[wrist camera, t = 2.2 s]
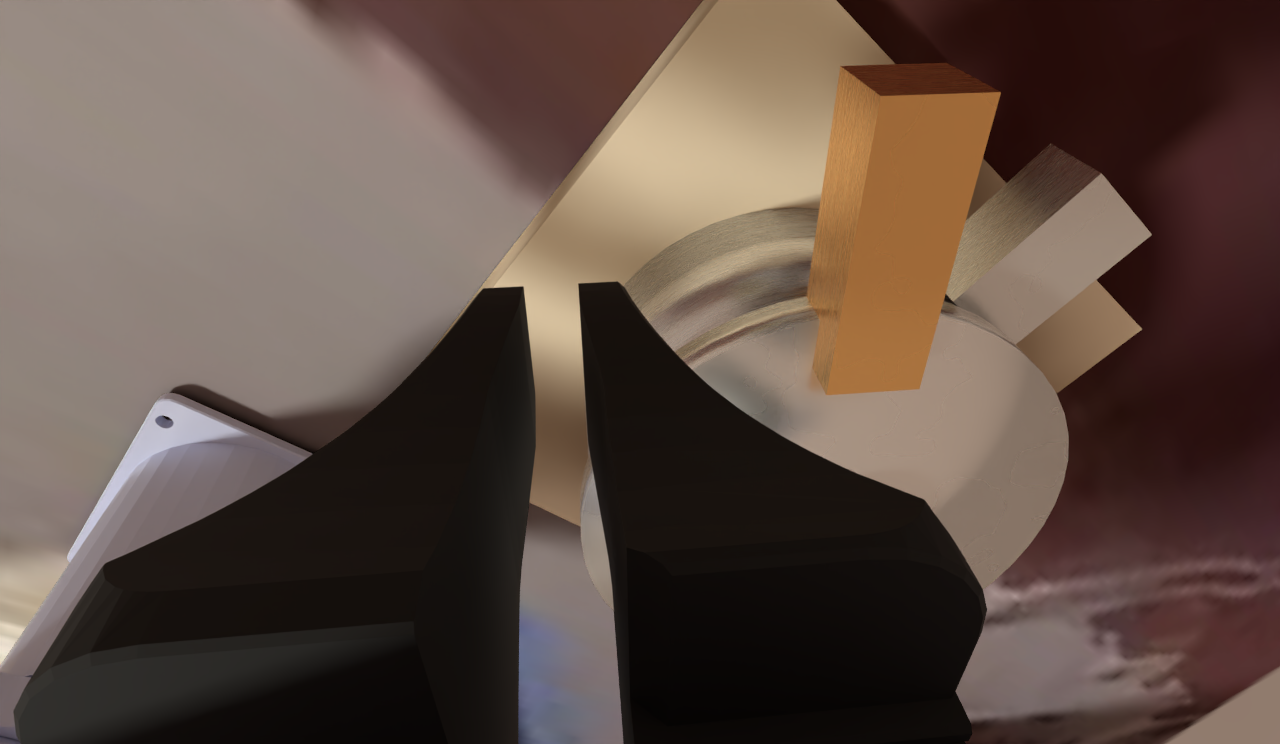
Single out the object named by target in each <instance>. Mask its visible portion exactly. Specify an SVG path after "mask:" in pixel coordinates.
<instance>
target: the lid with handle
mask: <svg viewBox="0 0 1280 744" xmlns="http://www.w3.org/2000/svg"><path fill="white" fill-rule="evenodd" d="M1000 94H1001V92H1000V91H998V90H996V89H994V88H992V87H991V86H989V85H987V84H985V83H983V82H981V81H979V80H978V79H976V78H974V77H972V76H970V75H968V74H966V73H965V72H963V71H961V70H959V69H957V68H955V67H953V66H952V65H950V64H948V63H923V64H889V65H855V66H840V72H839V79H838V86H837V93H836V99H835V106H834V113H833V120H832V127H831V133H830V140H829V147H828V154H827V161H826V167H825V174H824V181H823V188H822V194H821V201H820V208H819V215H818V222H817V228H816V235H815V242H814V249H813V255H812V262H811V269H810V276H809V283H808V289H807V296H806V297H802V298H797V299H793V300H788V301H784V302H780V303H776V304H773V305H770V306H767V307H764V308H761V309H758V310H756V311H753V312H750V313H747V314H744V315H741V316H739V317H737V318H735V319H733V320H731V321H728V322H726V323H724V324H722V325H720V326H718V327H716V328H713V329H711V330H709V331H707V332H706V333H704V334H702V335H701V336H699V337H697V338H696V339H694V340H692V341H691V342H689V343H688V344H686V345H684V346H683V347H681V348H679V349H678V350H676V351H675V353H676V354H677V355H678V356H679V357H680V358H681V359H682V360H683V361H684V362H685V363H686V364H687V365H688V366H689V367H690V368H691V369H692V370H693V371H694V372H695V373H696V374H697V375H698V376H699V377H700V378H702V379H703V380H704V381H705V382H706V383H707V384H708V385H709V386H711V387H712V388H713V389H714V390H715V391H717V392H718V393H719V394H721V395H722V396H723V397H724V398H726V399H727V400H728V401H730V402H731V403H732V404H734V405H735V406H736V407H738V408H739V409H740V410H742V411H743V412H745V413H746V414H748V415H749V416H751V417H752V418H754V419H755V420H757V421H759V422H760V423H762V424H763V425H765V426H767V427H768V428H770V429H772V430H773V431H775V432H777V433H778V434H780V435H781V436H783V437H785V438H786V439H788V440H790V441H792V442H794V443H796V444H798V445H799V446H801V447H803V448H805V449H807V450H809V451H811V452H813V453H815V454H817V455H819V456H821V457H823V458H825V459H827V460H829V461H831V462H833V463H835V464H837V465H840V466H842V467H844V468H846V469H848V470H850V471H853V472H855V473H857V474H860V475H863V476H865V477H868V478H870V479H873V480H875V481H878V482H881V483H883V484H886V485H888V486H891V487H894V488H896V489H899V490H901V491H904V492H906V493H909V494H912V495H914V496H917V497H919V498H922V499H924V500H925V501H926V502H927V503H928V505H929V506H930V508H931V509H932V511H933V512H934V514H935V515H936V516H937V518H938V519H939V520H940V522H941V523H942V524H943V526H944V527H945V528H946V530H947V531H948V532H949V534H950V535H951V537H952V538H953V540H954V541H955V543H956V544H957V546H958V548H959V549H960V551H961V552H962V554H963V556H964V557H965V559H966V561H967V563H968V564H969V566H970V568H971V570H972V571H973V573H974V575H975V576H976V578H977V580H978V582H979V583H980V585H981V587H982V589H985V588H986V587H987V586H988V585H990V584H991V583H992V582H993V581H995V580H996V579H997V578H998V577H999V576H1000V575H1001V574H1002V573H1003V572H1004V571H1006V570H1007V569H1008V568H1009V567H1010V566H1011V565H1012V564H1013V563H1014V562H1015V561H1016V559H1017V558H1018V557H1019V556H1020V555H1021V554H1022V553H1023V552H1024V551H1025V549H1026V548H1027V547H1028V546H1029V545H1030V543H1031V542H1032V541H1033V539H1034V538H1035V537H1036V535H1037V534H1038V532H1039V531H1040V530H1041V528H1042V527H1043V525H1044V524H1045V522H1046V520H1047V518H1048V516H1049V514H1050V513H1051V511H1052V509H1053V507H1054V505H1055V503H1056V501H1057V498H1058V495H1059V493H1060V490H1061V487H1062V485H1063V482H1064V477H1065V473H1066V468H1067V463H1068V447H1069V435H1068V429H1067V424H1066V418H1065V413H1064V411H1063V409H1062V406H1061V404H1060V401H1059V399H1058V396H1057V394H1056V392H1055V390H1054V389H1053V387H1052V386H1051V385H1050V383H1049V382H1048V380H1047V379H1046V377H1045V376H1044V374H1043V373H1042V372H1041V371H1040V370H1039V368H1038V367H1037V366H1036V365H1035V364H1034V363H1033V362H1032V361H1031V360H1030V359H1029V358H1028V357H1027V356H1026V355H1025V354H1024V353H1023V351H1022V350H1021V349H1020V348H1019V347H1018V346H1017V345H1016V344H1015V343H1014V342H1013V341H1011V340H1010V339H1009V338H1008V337H1007V336H1006V335H1005V334H1004V333H1003V332H1002V331H1001V330H1000V329H998V328H997V327H995V326H994V325H992V324H991V323H989V322H988V321H986V320H985V319H983V318H982V317H980V316H978V315H976V314H974V313H972V312H970V311H967V310H965V309H963V308H961V307H958V306H956V305H954V304H952V303H948V302H944V298H945V294H946V291H947V287H948V283H949V280H950V276H951V272H952V269H953V265H954V262H955V258H956V254H957V251H958V247H959V243H960V240H961V236H962V232H963V229H964V225H965V222H966V218H967V214H968V211H969V207H970V203H971V200H972V196H973V192H974V189H975V185H976V181H977V178H978V174H979V171H980V167H981V163H982V160H983V156H984V152H985V149H986V145H987V141H988V138H989V134H990V131H991V127H992V123H993V120H994V116H995V112H996V109H997V105H998V101H999V98H1000ZM580 526H581V543H582V549H583V555H584V560H585V564H586V567H587V569H588V572H589V575H590V577H591V580H592V582H593V584H594V586H595V587H596V589H597V590H598V592H599V594H600V595H601V597H602V598H603V600H604V601H605V602H606V603H607V604H608V606H609V607H610V608H611V609H612V610H613V611H614V606H613V593H612V582H611V574H610V567H609V559H608V553H607V547H606V542H605V536H604V531H603V525H602V519H601V514H600V508H599V502H598V497H597V491H596V486H595V480H594V474H593V469H592V463H591V457H590V455H589V457H588V460H587V463H586V465H585V469H584V474H583V479H582V484H581V489H580Z"/></svg>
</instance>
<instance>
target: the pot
mask: <svg viewBox="0 0 1280 744" xmlns="http://www.w3.org/2000/svg"><path fill="white" fill-rule="evenodd" d="M818 215H819V209H813V208H797V207H795V208H780V209H767V210H762V211H757V212H751V213H746V214H741V215H738V216H735V217H731V218H728V219H725V220H722V221H719V222H716V223H713V224H711V225H709V226H706V227H704V228H702V229H700V230H697V231H695V232H693V233H691V234H689V235H687V236H685V237H684V238H682V239H680V240H679V241H677V242H675V243H674V244H672V245H670V246H669V247H667V248H665V249H664V250H663V251H661V252H660V253H659V254H657V255H656V256H655V257H654V258H652V259H651V260H650V261H648V262H647V263H646V264H645V265H643V266H642V267H641V268H640V269H639V270H638V271H637V272H636V273H635V274H634V275H633V276H632V277H631V278H630V279H629V280H628V281H627V282H626V283H625V285H624V287H625V289H626V290H627V292H628V294H629V295H630V297H631V298H632V300H633V301H634V303H635V304H636V306H637V307H638V309H639V310H640V311H641V313H642V314H643V315H644V317H645V318H646V319H647V320H648V322H649V323H650V324H651V325H652V327H653V328H654V329H655V330H656V332H657V333H658V334H659V335H660V336H661V337H662V338H663V339H664V341H665V342H666V343H667V344H668V345H669V346H670V347H671V349H672V350H673V351H674V352H675V351H676V350H678V349H679V348H681V347H683V346H684V345H686V344H688V343H689V342H691V341H692V340H694V339H696V338H697V337H699V336H701V335H702V334H704V333H706V332H707V331H709V330H711V329H713V328H716V327H718V326H720V325H722V324H724V323H726V322H728V321H731V320H733V319H735V318H737V317H739V316H741V315H744V314H747V313H750V312H753V311H756V310H758V309H761V308H764V307H767V306H770V305H773V304H776V303H780V302H784V301H788V300H793V299H797V298H802V297H806V296H807V289H808V283H809V276H810V269H811V262H812V255H813V249H814V242H815V235H816V228H817V222H818ZM1151 235H1152V234H1151V233H1150V232H1149V230H1148V229H1147V228H1146V227H1145V226H1144V224H1143V223H1142V222H1141V221H1140V219H1139V218H1138V217H1137V216H1136V215H1135V213H1134V212H1133V211H1132V210H1131V209H1130V207H1129V206H1128V205H1127V204H1126V202H1125V201H1124V200H1123V199H1122V198H1121V196H1120V195H1119V194H1118V193H1117V192H1116V190H1115V189H1114V188H1113V187H1112V186H1111V184H1110V183H1109V182H1108V181H1107V179H1106V178H1105V177H1104V176H1103V175H1102V173H1100V172H1098V171H1097V170H1095V169H1093V168H1092V167H1090V166H1088V165H1086V164H1085V163H1083V162H1081V161H1080V160H1078V159H1076V158H1075V157H1073V156H1071V155H1069V154H1068V153H1066V152H1064V151H1063V150H1061V149H1059V148H1058V147H1056V146H1054V145H1052V144H1051V143H1050V144H1049V145H1048V146H1047V147H1046V148H1045V149H1044V150H1043V151H1042V152H1041V153H1039V154H1038V155H1037V156H1036V157H1035V158H1034V159H1033V160H1032V161H1031V162H1030V163H1028V164H1027V165H1026V166H1025V167H1024V168H1023V169H1022V170H1021V171H1020V172H1019V173H1018V174H1016V175H1015V176H1014V177H1013V178H1012V179H1011V180H1010V181H1009V182H1008V183H1007V184H1005V185H1004V186H1003V187H1002V188H1001V189H1000V190H999V191H998V192H997V193H996V194H995V195H993V196H992V197H991V198H990V199H989V200H988V201H987V202H986V203H985V204H984V205H983V206H981V207H980V208H979V209H978V210H977V211H976V212H975V213H974V214H973V215H972V216H970V217H969V218H968V219H967V220H966V222H965V225H964V229H963V232H962V236H961V240H960V243H959V247H958V251H957V254H956V258H955V262H954V265H953V269H952V272H951V276H950V280H949V283H948V287H947V291H946V294H945V298H944V302H948V303H952V304H954V305H956V306H958V307H961V308H963V309H965V310H967V311H970V312H972V313H974V314H976V315H978V316H980V317H982V318H983V319H985V320H986V321H988V322H989V323H991V324H992V325H994V326H995V327H997V328H998V329H1000V330H1001V331H1002V332H1003V333H1004V334H1005V335H1006V336H1007V337H1008V338H1009V339H1010V340H1011V341H1013V342H1014V343H1015V344H1017V343H1018V342H1019V341H1021V340H1022V339H1023V338H1024V337H1026V336H1027V335H1028V334H1029V333H1031V332H1032V331H1033V330H1034V329H1035V328H1037V327H1038V326H1039V325H1040V324H1042V323H1043V322H1044V321H1045V320H1047V319H1048V318H1049V317H1050V316H1052V315H1053V314H1054V313H1055V312H1057V311H1058V310H1059V309H1060V308H1062V307H1063V306H1064V305H1065V304H1067V303H1068V302H1069V301H1070V300H1072V299H1073V298H1074V297H1075V296H1077V295H1078V294H1079V293H1080V292H1082V291H1083V290H1084V289H1085V288H1086V287H1088V286H1089V285H1090V284H1091V283H1093V282H1094V281H1095V280H1096V279H1098V278H1099V277H1100V276H1101V275H1103V274H1104V273H1105V272H1106V271H1108V270H1109V269H1110V268H1111V267H1113V266H1114V265H1115V264H1116V263H1118V262H1119V261H1120V260H1121V259H1123V258H1124V257H1125V256H1126V255H1128V254H1129V253H1130V252H1131V251H1133V250H1134V249H1135V248H1136V247H1137V246H1139V245H1140V244H1141V243H1142V242H1144V241H1145V240H1146V239H1147V238H1149V237H1150V236H1151ZM584 394H585V386H584ZM585 411H586V402H585ZM586 428H587V418H586ZM587 444H588V434H587ZM589 455H590V452H589V446H588V457H589Z"/></svg>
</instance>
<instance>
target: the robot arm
mask: <svg viewBox="0 0 1280 744" xmlns="http://www.w3.org/2000/svg"><path fill="white" fill-rule="evenodd" d="M578 288H579V305H580V321H581V337H582V353H583V369H584V386H585V402H586V418H587V434H588V446H589V452H590V457H591V463H592V469H593V474H594V480H595V486H596V491H597V497H598V502H599V508H600V514H601V519H602V525H603V531H604V536H605V542H606V547H607V553H608V559H609V567H610V574H611V582H612V593H613V606H614V620H615V633H616V646H617V659H618V673H619V686H620V700H621V713H622V727H623V741H624V744H965V741H969V739H970V737H971V735H972V729H971V723H970V721H969V719H968V717H967V715H966V712H965V710H964V708H963V706H962V704H961V702H960V700H959V698H958V696H957V694H956V692H955V691H956V689H957V686H958V684H959V682H960V680H961V677H962V675H963V673H964V671H965V668H966V666H967V664H968V662H969V659H970V657H971V655H972V653H973V650H974V648H975V646H976V644H977V641H978V639H979V637H980V635H981V633H982V628H983V624H984V620H985V616H986V612H987V608H986V603H985V598H984V593H983V589H982V587H981V585H980V583H979V582H978V580H977V578H976V576H975V575H974V573H973V571H972V570H971V568H970V566H969V564H968V563H967V561H966V559H965V557H964V556H963V554H962V552H961V551H960V549H959V548H958V546H957V544H956V543H955V541H954V540H953V538H952V537H951V535H950V534H949V532H948V531H947V530H946V528H945V527H944V526H943V524H942V523H941V522H940V520H939V519H938V518H937V516H936V515H935V514H934V512H933V511H932V509H931V508H930V506H929V505H928V503H927V502H926V501H925V500H924V499H922V498H919V497H917V496H914V495H912V494H909V493H906V492H904V491H901V490H899V489H896V488H894V487H891V486H888V485H886V484H883V483H881V482H878V481H875V480H873V479H870V478H868V477H865V476H863V475H860V474H857V473H855V472H853V471H850V470H848V469H846V468H844V467H842V466H840V465H837V464H835V463H833V462H831V461H829V460H827V459H825V458H823V457H821V456H819V455H817V454H815V453H813V452H811V451H809V450H807V449H805V448H803V447H801V446H799V445H798V444H796V443H794V442H792V441H790V440H788V439H786V438H785V437H783V436H781V435H780V434H778V433H777V432H775V431H773V430H772V429H770V428H768V427H767V426H765V425H763V424H762V423H760V422H759V421H757V420H755V419H754V418H752V417H751V416H749V415H748V414H746V413H745V412H743V411H742V410H740V409H739V408H738V407H736V406H735V405H734V404H732V403H731V402H730V401H728V400H727V399H726V398H724V397H723V396H722V395H721V394H719V393H718V392H717V391H715V390H714V389H713V388H712V387H711V386H709V385H708V384H707V383H706V382H705V381H704V380H703V379H702V378H700V377H699V376H698V375H697V374H696V373H695V372H694V371H693V370H692V369H691V368H690V367H689V366H688V365H687V364H686V363H685V362H684V361H683V360H682V359H681V358H680V357H679V356H678V355H677V354H676V353H675V352H674V351H673V350H672V349H671V347H670V346H669V345H668V344H667V343H666V342H665V341H664V339H663V338H662V337H661V336H660V335H659V334H658V333H657V332H656V330H655V329H654V328H653V327H652V325H651V324H650V323H649V322H648V320H647V319H646V318H645V317H644V315H643V314H642V313H641V311H640V310H639V309H638V307H637V306H636V304H635V303H634V301H633V300H632V298H631V297H630V295H629V294H628V292H627V290H626V289H625V287H624V286H623V285H621V284H620V283H619V282H618V281H616V282H596V283H578ZM162 416H167V417H169V418H170V419H172V421H171V420H167V419H165V418H164V417H162ZM535 450H536V396H535V385H534V376H533V367H532V358H531V349H530V340H529V331H528V322H527V313H526V304H525V295H524V286H519V287H499V288H483V289H482V290H481V291H480V292H479V293H478V295H477V296H476V297H475V298H474V299H473V301H472V302H471V303H470V305H469V306H468V307H467V309H466V310H465V311H464V313H463V314H462V315H461V316H460V318H459V319H458V320H457V322H456V323H455V324H454V325H453V327H452V328H451V329H450V330H449V332H448V333H447V334H446V335H445V336H444V338H443V339H442V340H441V341H440V342H439V343H438V345H437V346H436V347H435V348H434V349H433V350H432V352H431V353H430V354H429V355H428V356H427V357H426V359H425V360H424V361H423V362H422V363H421V364H420V365H419V366H418V367H417V368H416V369H415V370H414V371H413V372H412V373H411V374H410V375H409V376H408V377H407V378H406V379H405V380H404V381H403V382H402V383H401V385H400V386H399V387H398V388H397V389H396V390H395V391H394V392H393V393H391V394H390V395H389V396H388V397H387V398H386V399H385V400H384V401H382V402H381V403H380V404H379V405H378V406H377V407H376V408H374V409H373V410H372V411H371V412H369V413H368V414H367V415H366V416H365V417H363V418H362V419H361V420H360V421H358V422H357V423H356V424H355V425H353V426H352V427H351V428H350V429H348V430H347V431H346V432H344V433H343V434H342V435H340V436H339V437H337V438H336V439H334V440H333V441H331V442H330V443H328V444H327V445H326V446H324V447H323V448H321V449H320V450H318V451H317V452H315V453H314V454H312V453H310V452H308V451H306V450H303V449H301V448H299V447H297V446H294V445H292V444H290V443H287V442H285V441H283V440H281V439H278V438H276V437H274V436H272V435H269V434H267V433H265V432H263V431H260V430H258V429H256V428H254V427H251V426H249V425H247V424H245V423H242V422H240V421H238V420H236V419H233V418H231V417H229V416H227V415H224V414H222V413H220V412H218V411H215V410H213V409H211V408H209V407H206V406H204V405H202V404H200V403H197V402H195V401H193V400H191V399H188V398H186V397H184V396H182V395H179V394H175V393H166V394H163V395H161V396H160V397H159V398H158V400H157V401H156V402H155V404H154V406H153V407H152V409H151V411H150V413H149V414H148V416H147V418H146V419H145V421H144V423H143V425H142V426H141V428H140V430H139V432H138V433H137V435H136V437H135V439H134V440H133V442H132V444H131V446H130V447H129V449H128V451H127V453H126V454H125V456H124V458H123V459H122V461H121V463H120V465H119V466H118V468H117V470H116V472H115V473H114V475H113V477H112V479H111V480H110V482H109V484H108V486H107V487H106V489H105V491H104V492H103V494H102V496H101V498H100V499H99V501H98V503H97V505H96V506H95V508H94V510H93V512H92V513H91V515H90V517H89V519H88V520H87V522H86V524H85V526H84V527H83V529H82V531H81V532H80V534H79V536H78V538H77V539H76V541H75V543H74V545H73V546H72V548H71V550H70V552H69V553H68V555H67V559H68V561H69V565H68V566H67V568H66V569H65V571H64V572H63V574H62V575H61V577H60V578H59V579H58V581H57V582H56V584H55V585H54V587H53V588H52V590H51V591H50V593H49V594H48V596H47V597H46V599H45V600H44V602H43V603H42V605H41V606H40V608H39V609H38V610H37V612H36V613H35V615H34V616H33V618H32V619H31V621H30V622H29V624H28V625H27V627H26V628H25V630H24V631H23V633H22V634H21V636H20V637H19V639H18V640H17V642H16V643H15V644H14V646H13V647H12V649H11V650H10V652H9V653H8V655H7V656H6V658H5V659H4V661H3V662H2V664H1V665H0V744H518V685H519V603H520V581H521V567H522V558H523V550H524V542H525V533H526V525H527V517H528V509H529V501H530V492H531V484H532V476H533V467H534V459H535Z"/></svg>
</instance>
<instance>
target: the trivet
mask: <svg viewBox="0 0 1280 744" xmlns="http://www.w3.org/2000/svg"><path fill="white" fill-rule="evenodd" d="M889 64H895V63H894V62H893V61H892V60H891V59H890V58H889V57H888V55H887V54H886V53H885V52H884V51H883V50H882V49H881V48H880V47H879V46H878V45H877V44H876V43H875V42H874V40H873V39H872V38H871V37H870V36H869V35H868V34H867V33H866V32H865V31H864V30H863V29H862V28H861V26H860V25H859V24H858V23H857V22H856V21H855V20H854V19H853V18H852V17H851V16H850V15H849V14H848V12H847V11H846V10H845V9H844V8H843V7H842V6H841V5H840V4H839V3H838V2H837V1H836V0H703V1H702V3H701V4H700V5H699V7H698V8H697V9H696V10H695V12H694V13H693V14H692V16H691V17H690V18H689V19H688V21H687V22H686V23H685V25H684V26H683V27H682V28H681V30H680V31H679V32H678V34H677V35H676V36H675V37H674V39H673V40H672V41H671V43H670V44H669V45H668V47H667V48H666V49H665V50H664V52H663V53H662V54H661V56H660V57H659V58H658V59H657V61H656V62H655V63H654V65H653V66H652V67H651V68H650V70H649V71H648V72H647V74H646V75H645V76H644V77H643V79H642V80H641V81H640V83H639V84H638V85H637V86H636V88H635V89H634V90H633V92H632V93H631V94H630V96H629V97H628V98H627V99H626V101H625V102H624V103H623V105H622V106H621V107H620V108H619V110H618V111H617V112H616V114H615V115H614V116H613V117H612V119H611V120H610V121H609V123H608V124H607V125H606V126H605V128H604V129H603V130H602V132H601V133H600V134H599V135H598V137H597V138H596V139H595V141H594V142H593V143H592V144H591V146H590V147H589V148H588V150H587V151H586V152H585V154H584V155H583V156H582V157H581V159H580V160H579V161H578V163H577V164H576V165H575V166H574V168H573V169H572V170H571V172H570V173H569V174H568V175H567V177H566V178H565V179H564V181H563V182H562V183H561V184H560V186H559V187H558V188H557V190H556V191H555V192H554V193H553V195H552V196H551V197H550V199H549V200H548V201H547V203H546V204H545V205H544V206H543V208H542V209H541V210H540V212H539V213H538V214H537V215H536V217H535V218H534V219H533V221H532V222H531V223H530V224H529V226H528V227H527V228H526V230H525V231H524V232H523V233H522V235H521V236H520V237H519V239H518V240H517V241H516V242H515V244H514V245H513V246H512V248H511V249H510V250H509V252H508V253H507V254H506V255H505V257H504V258H503V259H502V261H501V262H500V263H499V264H498V266H497V267H496V268H495V270H494V271H493V272H492V273H491V275H490V276H489V277H488V279H487V280H486V281H485V282H484V284H483V285H482V286H481V288H480V289H479V290H478V291H477V293H476V294H475V295H474V297H473V298H472V299H471V301H470V302H469V303H468V304H467V306H466V307H465V308H464V310H463V311H462V312H461V313H460V315H459V316H458V317H457V319H456V320H455V321H454V322H453V324H452V325H451V326H450V328H449V329H448V330H447V331H446V333H445V334H444V335H443V337H442V338H441V339H440V340H439V342H440V341H441V340H442V339H443V338H444V336H445V335H446V334H447V333H448V332H449V330H450V329H451V328H452V327H453V325H454V324H455V323H456V322H457V320H458V319H459V318H460V316H461V315H462V314H463V313H464V311H465V310H466V309H467V307H468V306H469V305H470V303H471V302H472V301H473V299H474V298H475V297H476V296H477V295H478V293H479V292H480V291H481V290H482V289H483V288H499V287H519V286H524V295H525V304H526V313H527V322H528V331H529V340H530V349H531V358H532V367H533V376H534V385H535V396H536V450H535V459H534V467H533V476H532V484H531V492H530V501H529V502H530V503H532V504H534V505H536V506H538V507H540V508H542V509H544V510H546V511H548V512H550V513H553V514H555V515H557V516H559V517H561V518H563V519H565V520H567V521H569V522H571V523H573V524H576V525H578V526H580V489H581V484H582V479H583V474H584V469H585V465H586V463H587V460H588V444H587V428H586V411H585V394H584V369H583V353H582V337H581V321H580V305H579V288H578V283H596V282H616V281H618V282H619V283H620V284H621V285H623V286H624V285H625V283H626V282H627V281H628V280H629V279H630V278H631V277H632V276H633V275H634V274H635V273H636V272H637V271H638V270H639V269H640V268H641V267H642V266H643V265H645V264H646V263H647V262H648V261H650V260H651V259H652V258H654V257H655V256H656V255H657V254H659V253H660V252H661V251H663V250H664V249H665V248H667V247H669V246H670V245H672V244H674V243H675V242H677V241H679V240H680V239H682V238H684V237H685V236H687V235H689V234H691V233H693V232H695V231H697V230H700V229H702V228H704V227H706V226H709V225H711V224H713V223H716V222H719V221H722V220H725V219H728V218H731V217H735V216H738V215H741V214H746V213H751V212H757V211H762V210H767V209H780V208H795V207H797V208H813V209H819V208H820V201H821V194H822V188H823V181H824V174H825V167H826V161H827V154H828V147H829V140H830V133H831V127H832V120H833V113H834V106H835V99H836V93H837V86H838V79H839V72H840V66H855V65H889ZM1005 184H1007V183H1006V182H1005V181H1004V180H1003V179H1002V178H1001V177H1000V176H999V175H998V174H997V173H996V172H995V171H994V169H993V168H992V167H991V166H990V165H989V164H988V163H987V162H986V161H985V160H984V159H983V160H982V163H981V167H980V171H979V174H978V178H977V181H976V185H975V189H974V192H973V196H972V200H971V203H970V207H969V211H968V214H967V218H966V220H967V219H968V218H969V217H970V216H972V215H973V214H974V213H975V212H976V211H977V210H978V209H979V208H980V207H981V206H983V205H984V204H985V203H986V202H987V201H988V200H989V199H990V198H991V197H992V196H993V195H995V194H996V193H997V192H998V191H999V190H1000V189H1001V188H1002V187H1003V186H1004V185H1005ZM1141 330H1142V329H1141V327H1140V326H1139V325H1138V324H1137V323H1136V322H1135V321H1134V320H1133V319H1132V318H1131V317H1130V316H1129V315H1128V313H1127V312H1126V311H1125V310H1124V309H1123V308H1122V307H1121V306H1120V305H1119V304H1118V303H1117V302H1116V301H1115V300H1114V298H1113V297H1112V296H1111V295H1110V294H1109V293H1108V292H1107V291H1106V290H1105V289H1104V288H1103V287H1102V286H1101V284H1100V283H1099V282H1098V281H1097V280H1095V281H1094V282H1093V283H1091V284H1090V285H1089V286H1088V287H1086V288H1085V289H1084V290H1083V291H1082V292H1080V293H1079V294H1078V295H1077V296H1075V297H1074V298H1073V299H1072V300H1070V301H1069V302H1068V303H1067V304H1065V305H1064V306H1063V307H1062V308H1060V309H1059V310H1058V311H1057V312H1055V313H1054V314H1053V315H1052V316H1050V317H1049V318H1048V319H1047V320H1045V321H1044V322H1043V323H1042V324H1040V325H1039V326H1038V327H1037V328H1035V329H1034V330H1033V331H1032V332H1031V333H1029V334H1028V335H1027V336H1026V337H1024V338H1023V339H1022V340H1021V341H1019V342H1018V343H1017V344H1016V345H1017V346H1018V347H1019V348H1020V349H1021V350H1022V351H1023V353H1024V354H1025V355H1026V356H1027V357H1028V358H1029V359H1030V360H1031V361H1032V362H1033V363H1034V364H1035V365H1036V366H1037V367H1038V368H1039V370H1040V371H1041V372H1042V373H1043V374H1044V376H1045V377H1046V379H1047V380H1048V382H1049V383H1050V385H1051V386H1052V387H1053V389H1054V390H1055V392H1056V394H1057V393H1058V392H1059V391H1061V390H1062V389H1063V388H1065V387H1066V386H1067V385H1069V384H1070V383H1071V382H1073V381H1074V380H1075V379H1077V378H1078V377H1079V376H1081V375H1082V374H1083V373H1085V372H1086V371H1087V370H1089V369H1090V368H1091V367H1093V366H1094V365H1095V364H1097V363H1098V362H1099V361H1101V360H1102V359H1103V358H1105V357H1106V356H1107V355H1109V354H1110V353H1111V352H1113V351H1114V350H1115V349H1117V348H1118V347H1119V346H1121V345H1122V344H1123V343H1125V342H1126V341H1127V340H1129V339H1130V338H1131V337H1133V336H1134V335H1135V334H1137V333H1138V332H1139V331H1141ZM439 342H438V343H439ZM438 343H437V344H436V346H437V345H438ZM436 346H435V347H436ZM435 347H434V348H435ZM434 348H433V349H434ZM433 349H432V350H433ZM431 352H432V351H431ZM431 352H430V353H431ZM430 353H429V354H430ZM580 527H581V526H580Z"/></svg>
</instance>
